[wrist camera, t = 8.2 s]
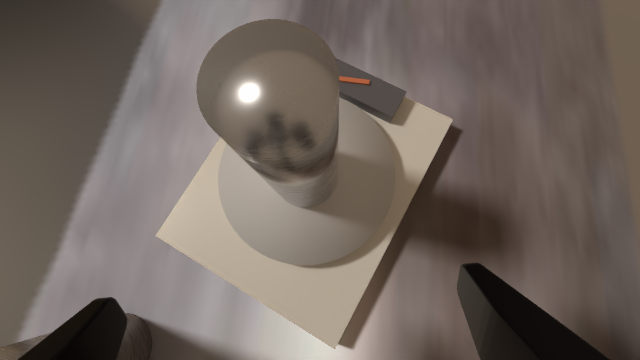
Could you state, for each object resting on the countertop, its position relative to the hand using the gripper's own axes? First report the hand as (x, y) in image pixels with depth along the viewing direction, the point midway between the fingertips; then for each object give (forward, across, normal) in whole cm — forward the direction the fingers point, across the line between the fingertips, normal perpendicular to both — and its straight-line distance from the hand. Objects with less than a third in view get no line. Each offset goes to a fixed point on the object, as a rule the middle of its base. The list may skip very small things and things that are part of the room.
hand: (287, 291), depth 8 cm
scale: (+13, 0, +4) cm, 14 cm away
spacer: (+11, 0, +3) cm, 12 cm away
